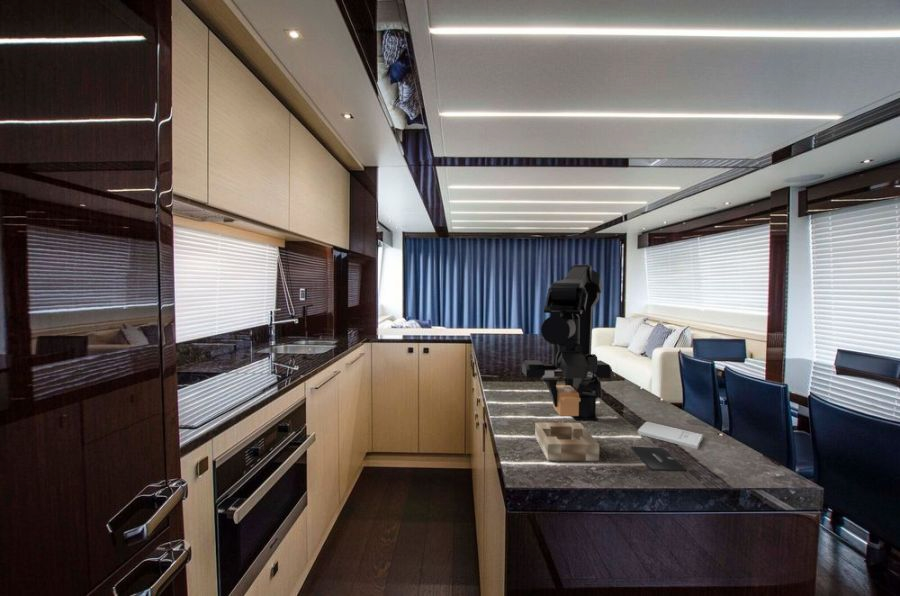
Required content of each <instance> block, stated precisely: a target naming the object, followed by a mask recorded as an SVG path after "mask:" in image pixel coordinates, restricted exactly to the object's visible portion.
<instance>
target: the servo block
mask: <svg viewBox="0 0 900 596" xmlns="http://www.w3.org/2000/svg"><path fill="white" fill-rule="evenodd" d="M556 388H557V407H555V406H554V403H553V402H552V408H554V410H555V412H557V414H558V415H559V416H560V417H572V416H579V402H580V400H581V398H580V397H579V393H578V392H577V391H576V390H575V389H574V388H572V387H571V386H565V385H556Z"/></svg>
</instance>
